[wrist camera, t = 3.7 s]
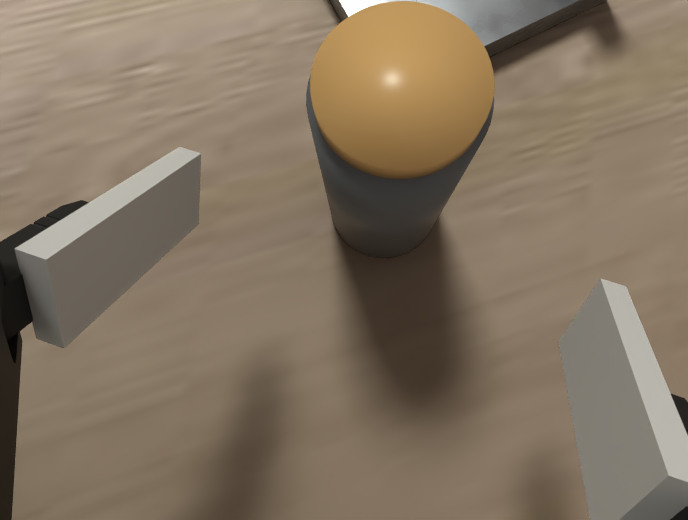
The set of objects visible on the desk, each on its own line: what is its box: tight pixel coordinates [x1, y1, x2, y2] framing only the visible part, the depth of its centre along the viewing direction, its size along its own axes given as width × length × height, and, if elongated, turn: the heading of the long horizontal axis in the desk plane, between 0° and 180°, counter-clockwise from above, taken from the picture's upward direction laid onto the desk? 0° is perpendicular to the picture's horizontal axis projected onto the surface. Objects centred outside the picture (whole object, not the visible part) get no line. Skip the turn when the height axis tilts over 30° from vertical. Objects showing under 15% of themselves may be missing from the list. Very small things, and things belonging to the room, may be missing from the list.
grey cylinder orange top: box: [306, 1, 495, 258], centre depth 19 cm, size 6×6×12 cm
